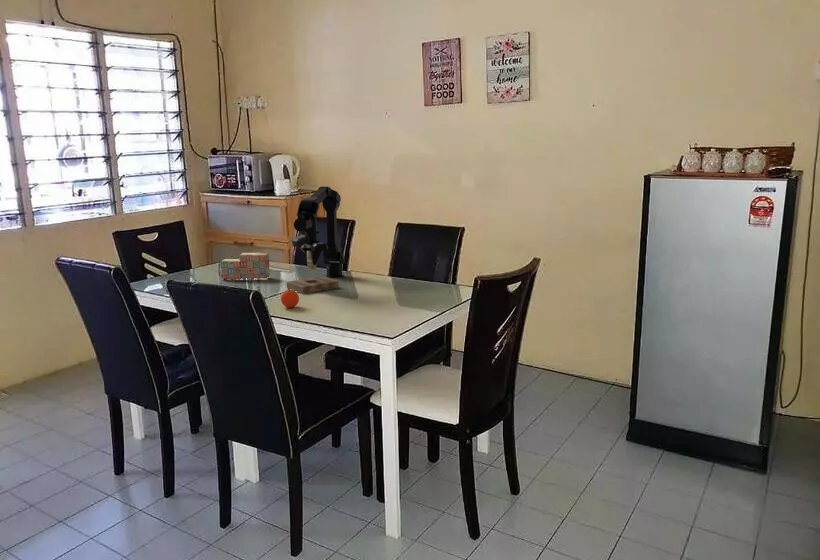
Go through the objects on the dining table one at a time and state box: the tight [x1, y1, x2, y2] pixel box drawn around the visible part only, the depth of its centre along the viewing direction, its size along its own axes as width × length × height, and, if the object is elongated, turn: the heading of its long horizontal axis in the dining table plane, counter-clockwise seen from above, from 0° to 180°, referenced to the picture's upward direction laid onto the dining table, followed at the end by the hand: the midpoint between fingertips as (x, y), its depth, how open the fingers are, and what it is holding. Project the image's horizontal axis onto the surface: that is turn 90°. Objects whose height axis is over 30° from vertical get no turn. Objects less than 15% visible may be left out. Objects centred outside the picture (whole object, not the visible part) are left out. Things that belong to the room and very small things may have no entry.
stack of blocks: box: [220, 252, 271, 279], centre depth 306 cm, size 21×6×12 cm, turn 86°
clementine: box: [280, 289, 300, 309], centre depth 252 cm, size 8×7×7 cm
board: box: [286, 276, 340, 295], centre depth 285 cm, size 18×14×3 cm
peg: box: [306, 251, 318, 271], centre depth 283 cm, size 4×4×8 cm
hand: (311, 264), depth 283 cm, fingers closed on peg, 4 cm apart
